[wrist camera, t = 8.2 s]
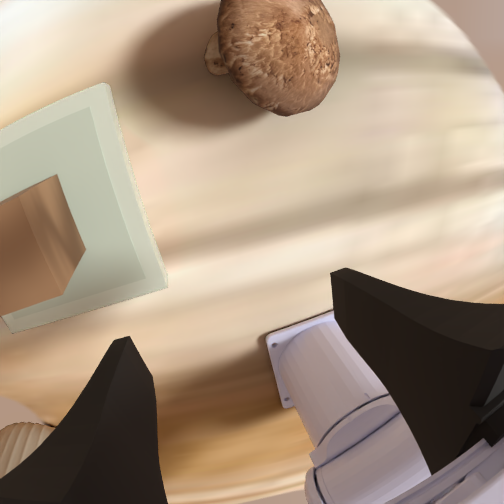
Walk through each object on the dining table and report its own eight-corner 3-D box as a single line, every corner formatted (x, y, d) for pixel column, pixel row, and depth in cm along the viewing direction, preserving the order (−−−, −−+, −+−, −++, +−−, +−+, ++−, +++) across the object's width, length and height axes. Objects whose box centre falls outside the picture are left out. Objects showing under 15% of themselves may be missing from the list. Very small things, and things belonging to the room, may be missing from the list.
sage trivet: (167, 273, 20) (167, 288, 18) (19, 319, 18) (11, 334, 17) (109, 85, 15) (103, 81, 13) (-46, 164, 13) (-61, 169, 12)
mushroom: (150, 84, 13) (256, 35, 9) (194, -21, 13) (284, -67, 9) (258, 144, 19) (355, 134, 15) (276, 46, 19) (359, 26, 15)
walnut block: (86, 249, 16) (62, 294, 12) (26, 272, 16) (-7, 319, 11) (57, 173, 14) (18, 196, 10) (-4, 204, 14) (-50, 234, 9)
